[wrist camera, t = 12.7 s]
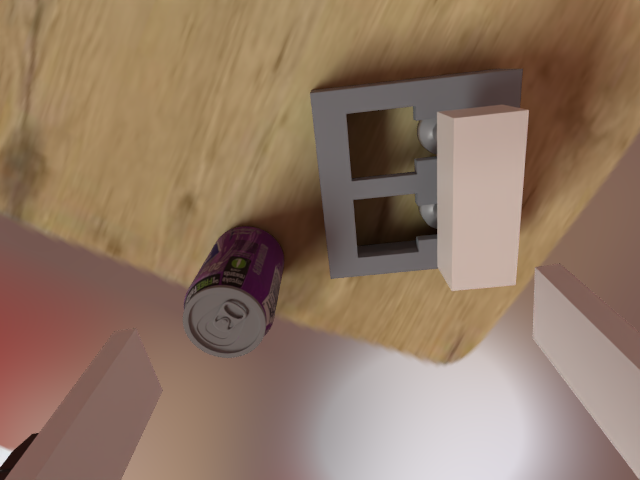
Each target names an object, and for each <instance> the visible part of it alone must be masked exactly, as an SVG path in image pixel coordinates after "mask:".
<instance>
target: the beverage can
mask: <svg viewBox="0 0 640 480" xmlns="http://www.w3.org/2000/svg"><path fill="white" fill-rule="evenodd" d="M283 268H284V255H283V251H282V249H281V246H280V245H279V243H278V242H277V241H276V239H275V238H274V237H273V236H271V235H270V234H269V233H267V232H266V231H264V230H261V229H259V228H255V227H249V226H243V227H237V228H233V229H231V230H229V231H227V232H225V233H224V234H223V235H222V236H221V237H220V238H219V239H218V240H217V242H216V243H215V245H214V247H213V249H212V250H211V252H210V254H209V255H208V257H207V259H206V260H205V262H204V264H203V265H202V267H201V269H200V271H199V272H198V274H197V276H196V277H195V279H194V281H193V282H192V284H191V286H190V287H189V289H188V291H187V294H186V296H185V301H184V314H183V325H184V329H185V332H186V334H187V336H188V338H189V339H190V340H191V341H192V343H193V344H194V345H195V346H197V347H198V348H199V349H201V350H202V351H204V352H206V353H208V354H210V355H214V356H218V357H224V358H232V357H238V356H242V355H245V354H247V353H249V352H251V351H252V350H253V349H255V348H256V347H257V346H258V345H259V344H260V342H261V341H262V339H263V337H264V336H265V335H266V334H267V332H268V331H269V330H270V328H271V326H272V323H273V320H274V316H275V310H276V305H277V300H278V294H279V289H280V284H281V278H282V273H283Z"/></svg>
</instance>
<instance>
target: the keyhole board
mask: <svg viewBox="0 0 640 480" xmlns="http://www.w3.org/2000/svg"><path fill="white" fill-rule="evenodd" d="M522 72H523V69H492V70H483V71H475V72H466V73H457V74H449V75H440V76H431V77H423V78H414V79H405V80H397V81H388V82H379V83H371V84H362V85H353V86H344V87H336V88H327V89H318V90H311V92H310V97H311V105H312V114H313V123H314V132H315V141H316V150H317V159H318V168H319V177H320V186H321V195H322V204H323V213H324V222H325V231H326V240H327V249H328V258H329V267H330V276H331V279H334V278H344V277H354V276H365V275H375V274H386V273H396V272H406V271H417V270H427V269H437V268H438V267H437V234H435V235H425V236H416V240H414V241H403V242H393V243H383V244H373V245H363V246H357V241H356V229H355V216H354V204H353V200H357V199H367V198H377V197H386V196H396V195H405V194H415V202H416V204H417V205H418V206H420V205H430V204H437V156H435V157H426V158H416V159H414V161H415V172H407V173H397V174H388V175H379V176H369V177H360V178H351V168H350V155H349V143H348V131H347V119H346V114H349V113H358V112H367V111H376V110H384V109H393V108H402V107H411V106H413V118H414V120H416V121H417V120H426V119H435V118H437V112H441V111H449V110H458V109H467V108H476V107H485V106H494V105H507V106H512V107H517V108H520V101H521V87H522Z"/></svg>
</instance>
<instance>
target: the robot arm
mask: <svg viewBox="0 0 640 480" xmlns="http://www.w3.org/2000/svg"><path fill="white" fill-rule="evenodd" d="M533 339H534V340H535V342H536V343H537V344H538V346H539V347H540V348H541V349H542V351H543V352H544V354H545V355H546V356H547V358H548V359H549V360H550V362H551V363H552V364H553V365H554V367H555V368H556V369H557V371H558V372H559V374H560V375H561V376H562V377H563V379H564V380H565V382H566V383H567V384H568V386H569V387H570V388H571V389H572V391H573V392H574V393H575V395H576V396H577V397H578V399H579V400H580V401H581V403H582V404H583V405H584V407H585V408H586V409H587V411H588V412H589V413H590V415H591V416H592V417H593V419H595V421H596V423H597V424H598V425H599V427H600V428H601V429H602V430H603V432H604V433H605V435H606V436H607V437H608V438H609V440H610V441H611V442H612V444H613V445H614V447H615V448H616V449H617V451H618V452H619V453H620V454H621V456H622V457H623V459H624V460H625V461H626V462H627V464H628V465H629V466H630V468H631V469H632V470H633V472H634V473H635V474H636V476H637V477H638V478H639V480H640V332H639V331H638V330H637V329H635V328H634V327H633V326H632V325H631V324H630V323H628V322H627V321H626V320H625V319H624V318H623V317H622V316H620V315H619V314H618V313H617V312H616V311H615V310H613V309H612V308H611V307H610V306H609V305H608V304H606V303H605V302H604V301H603V300H602V299H600V297H598V296H597V295H596V294H595V293H593V291H591V290H590V289H589V288H588V287H587V286H586V285H584V284H583V283H582V282H581V281H580V280H579V279H578V278H576V277H575V276H574V275H573V274H572V273H571V272H570V271H568V270H567V269H566V268H565V267H564V266H563V265H561V264H560V263H559V264H553V265H546V266H540V267H535V288H534V316H533ZM162 391H163V390H162V388H161V385H160V383H159V380H158V378H157V376H156V374H155V371H154V369H153V366H152V364H151V362H150V359H149V357H148V354H147V352H146V350H145V347H144V345H143V343H142V341H141V338H140V336H139V333H138V331H137V329H136V328H133V329H126V330H120V331H114V333H113V334H112V335H111V337H110V338H109V340H108V341H107V342H106V343H105V345H104V346H103V347H102V349H101V350H100V351H99V353H98V354H97V356H96V357H95V358H94V360H93V361H92V362H91V364H90V365H89V366H88V368H87V369H86V370H85V372H84V373H83V374H82V376H81V377H80V378H79V380H78V381H77V383H76V384H75V385H74V387H73V388H72V389H71V391H70V392H69V393H68V395H67V396H66V397H65V399H64V400H63V402H62V403H61V404H60V405H59V407H58V409H57V410H56V411H55V412H54V414H53V415H52V416H51V418H50V419H49V420H48V422H47V423H46V425H45V426H44V427H43V429H42V430H41V431H40V432H39V433H36V434H32V435H31V436H30V437H28V438H27V439H26V440H25V441H24V442H23V443H22V444H21V445H19V446H18V447H17V448H16V449H15V450H14V451H13V452H12V453H11V454H10V455H9V457H8V458H7V459H6V461H5V462H4V463H3V465H2V466H1V467H0V480H121V479H122V476H123V474H124V472H125V470H126V468H127V466H128V463H129V461H130V459H131V457H132V455H133V453H134V451H135V448H136V446H137V444H138V442H139V440H140V438H141V436H142V433H143V431H144V429H145V427H146V425H147V423H148V421H149V419H150V416H151V414H152V412H153V410H154V408H155V406H156V404H157V401H158V399H159V397H160V395H161V393H162Z"/></svg>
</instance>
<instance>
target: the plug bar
mask: <svg viewBox="0 0 640 480" xmlns="http://www.w3.org/2000/svg"><path fill="white" fill-rule="evenodd" d="M528 117H529V110H527V109H522V108H517V107H512V106H507V105H494V106H485V107H476V108H467V109H458V110H449V111H441V112H437V118H435V119H426V120H419V123H418V126H417V136H418V140H419V142H420V143H421V145H422V146H423V147H424V148H426V149H427V150H428V151H430V152H431V153H434V154H437V204H430V205H420V206H418V207H419V212H420V214H421V216H422V217H423V219H424V220H425V222H426V223H427V224H428V225H429V226H431V227H433V228H436V229H437V267H438V268H439V270H440V272H441V273H442V275H443V277H444V279H445V280H446V282H447V284H448V285H449V287H450V289H451V290H452V291H456V290H467V289H478V288H488V287H499V286H510V285H516V273H517V260H518V247H519V234H520V221H521V208H522V195H523V182H524V169H525V156H526V143H527V130H528Z"/></svg>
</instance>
